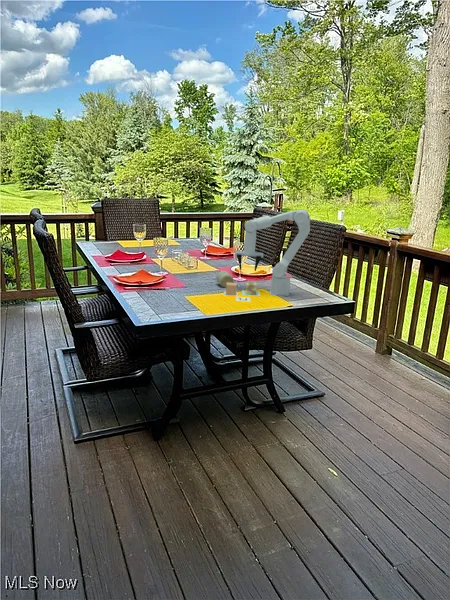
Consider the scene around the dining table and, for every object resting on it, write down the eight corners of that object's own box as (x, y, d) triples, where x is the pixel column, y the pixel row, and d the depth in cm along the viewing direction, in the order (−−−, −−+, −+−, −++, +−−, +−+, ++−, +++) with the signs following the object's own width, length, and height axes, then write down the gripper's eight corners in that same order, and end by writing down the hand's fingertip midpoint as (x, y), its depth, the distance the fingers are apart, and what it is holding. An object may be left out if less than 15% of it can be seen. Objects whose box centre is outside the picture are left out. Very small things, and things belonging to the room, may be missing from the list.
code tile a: (250, 298, 213) (250, 297, 213) (250, 302, 206) (250, 301, 206) (235, 297, 213) (236, 296, 213) (236, 301, 206) (236, 300, 206)
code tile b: (237, 292, 221) (237, 292, 220) (237, 296, 214) (238, 296, 214) (224, 291, 221) (224, 291, 220) (223, 295, 214) (223, 295, 214)
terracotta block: (235, 292, 219) (236, 283, 218) (236, 295, 215) (236, 285, 213) (226, 291, 219) (226, 282, 218) (225, 294, 215) (226, 284, 213)
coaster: (259, 292, 224) (259, 291, 224) (260, 297, 216) (260, 296, 216) (241, 290, 224) (241, 290, 224) (241, 295, 216) (242, 295, 216)
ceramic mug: (220, 288, 226) (221, 274, 223) (215, 284, 233) (216, 270, 231) (239, 288, 229) (240, 274, 227) (233, 284, 237) (235, 270, 234)
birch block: (255, 292, 222) (256, 282, 221) (255, 295, 217) (256, 285, 216) (245, 291, 222) (246, 282, 221) (245, 294, 217) (246, 284, 216)
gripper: (235, 244, 217) (233, 270, 221) (264, 246, 217) (262, 272, 221) (235, 242, 223) (233, 267, 228) (263, 243, 223) (261, 269, 228)
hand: (247, 270), depth 225 cm, fingers open, 7 cm apart
